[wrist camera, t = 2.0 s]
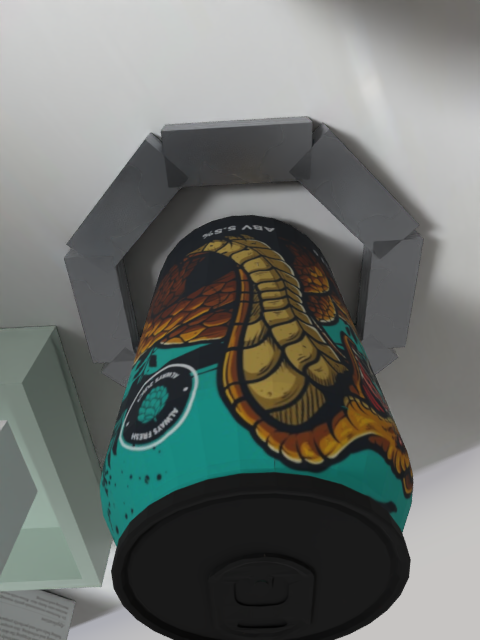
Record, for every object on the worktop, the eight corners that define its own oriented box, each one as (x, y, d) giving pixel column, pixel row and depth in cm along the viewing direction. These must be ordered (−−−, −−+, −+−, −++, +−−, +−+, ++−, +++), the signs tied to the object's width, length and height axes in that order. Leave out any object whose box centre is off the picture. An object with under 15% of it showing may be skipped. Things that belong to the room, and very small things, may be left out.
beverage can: (336, 204, 17) (489, 453, 7) (324, 355, 21) (413, 661, 11) (148, 212, 17) (28, 471, 7) (170, 361, 21) (112, 672, 11)
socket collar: (117, 415, 23) (112, 433, 22) (43, 131, 16) (30, 138, 15) (385, 402, 22) (392, 419, 21) (430, 109, 15) (444, 114, 14)
